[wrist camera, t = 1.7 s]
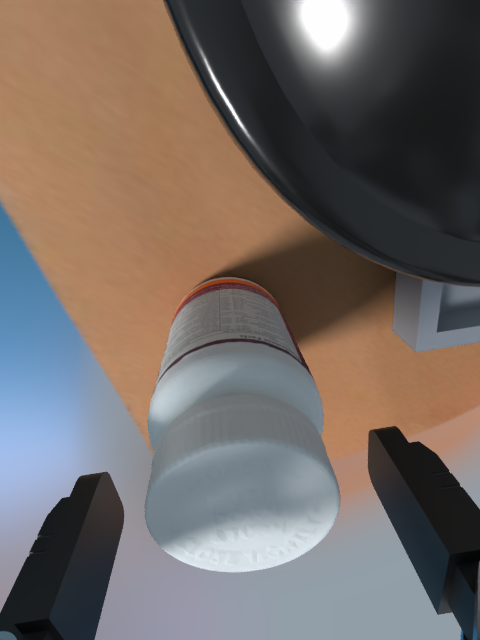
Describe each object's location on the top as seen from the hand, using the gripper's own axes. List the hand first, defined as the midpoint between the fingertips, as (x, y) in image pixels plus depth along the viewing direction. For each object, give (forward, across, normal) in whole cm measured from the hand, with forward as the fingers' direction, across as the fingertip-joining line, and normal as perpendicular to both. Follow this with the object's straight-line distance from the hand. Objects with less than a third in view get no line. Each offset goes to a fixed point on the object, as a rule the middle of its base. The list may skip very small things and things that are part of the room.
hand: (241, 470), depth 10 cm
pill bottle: (+10, 0, 0) cm, 10 cm away
